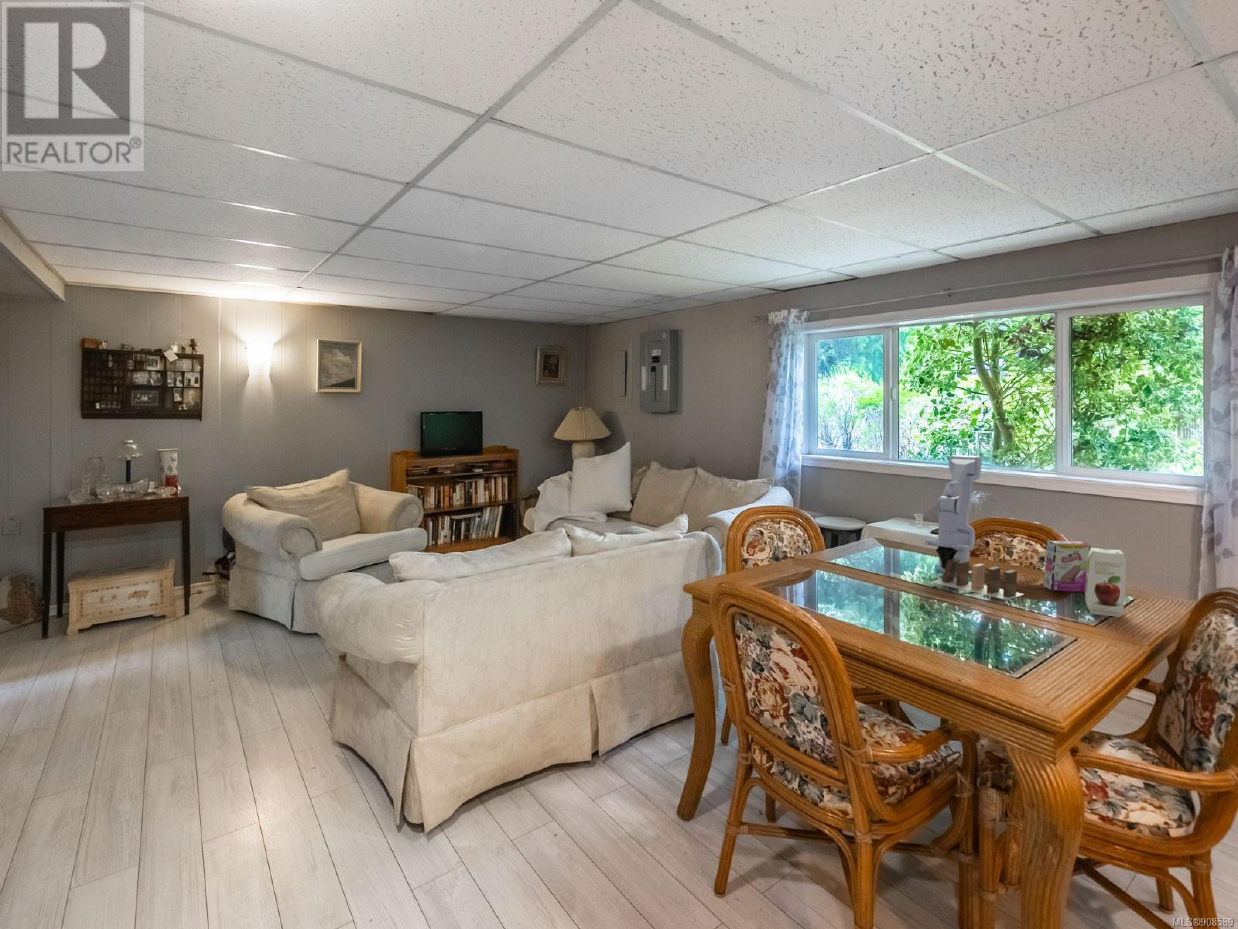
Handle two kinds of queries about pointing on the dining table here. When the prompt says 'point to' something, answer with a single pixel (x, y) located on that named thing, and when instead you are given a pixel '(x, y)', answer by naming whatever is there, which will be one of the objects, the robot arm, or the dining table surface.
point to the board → (980, 591)
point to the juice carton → (1105, 582)
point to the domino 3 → (978, 576)
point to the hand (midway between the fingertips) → (946, 568)
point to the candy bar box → (1066, 566)
